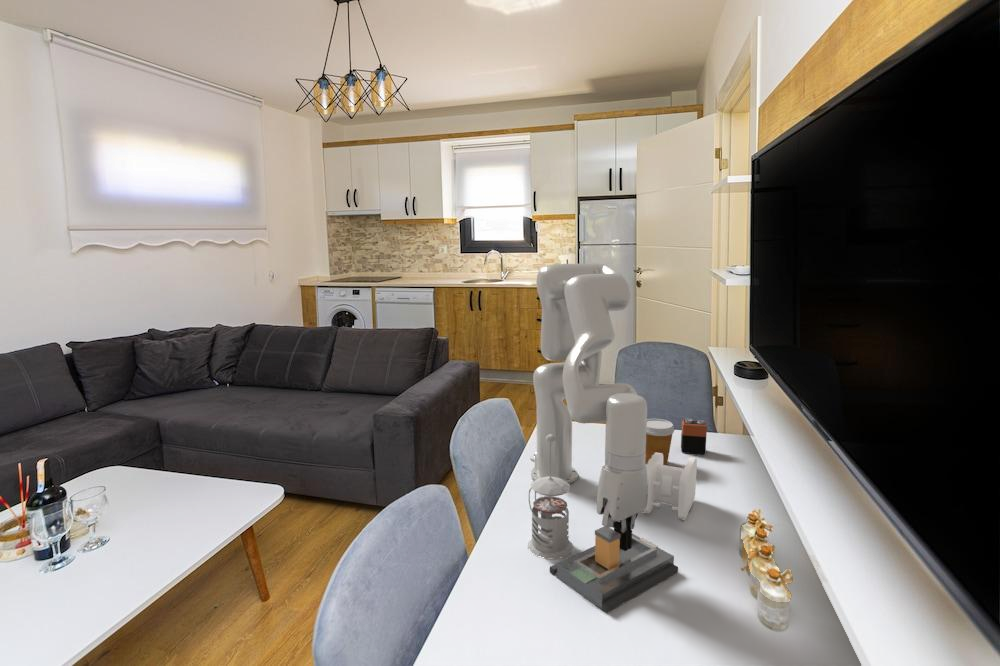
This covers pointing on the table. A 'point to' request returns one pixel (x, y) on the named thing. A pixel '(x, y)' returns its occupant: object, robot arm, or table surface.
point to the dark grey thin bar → (639, 588)
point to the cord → (553, 569)
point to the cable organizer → (671, 485)
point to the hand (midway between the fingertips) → (622, 546)
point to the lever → (607, 547)
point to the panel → (613, 570)
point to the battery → (693, 436)
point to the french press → (550, 516)
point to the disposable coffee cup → (658, 438)
